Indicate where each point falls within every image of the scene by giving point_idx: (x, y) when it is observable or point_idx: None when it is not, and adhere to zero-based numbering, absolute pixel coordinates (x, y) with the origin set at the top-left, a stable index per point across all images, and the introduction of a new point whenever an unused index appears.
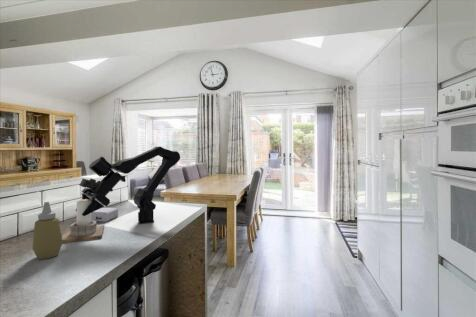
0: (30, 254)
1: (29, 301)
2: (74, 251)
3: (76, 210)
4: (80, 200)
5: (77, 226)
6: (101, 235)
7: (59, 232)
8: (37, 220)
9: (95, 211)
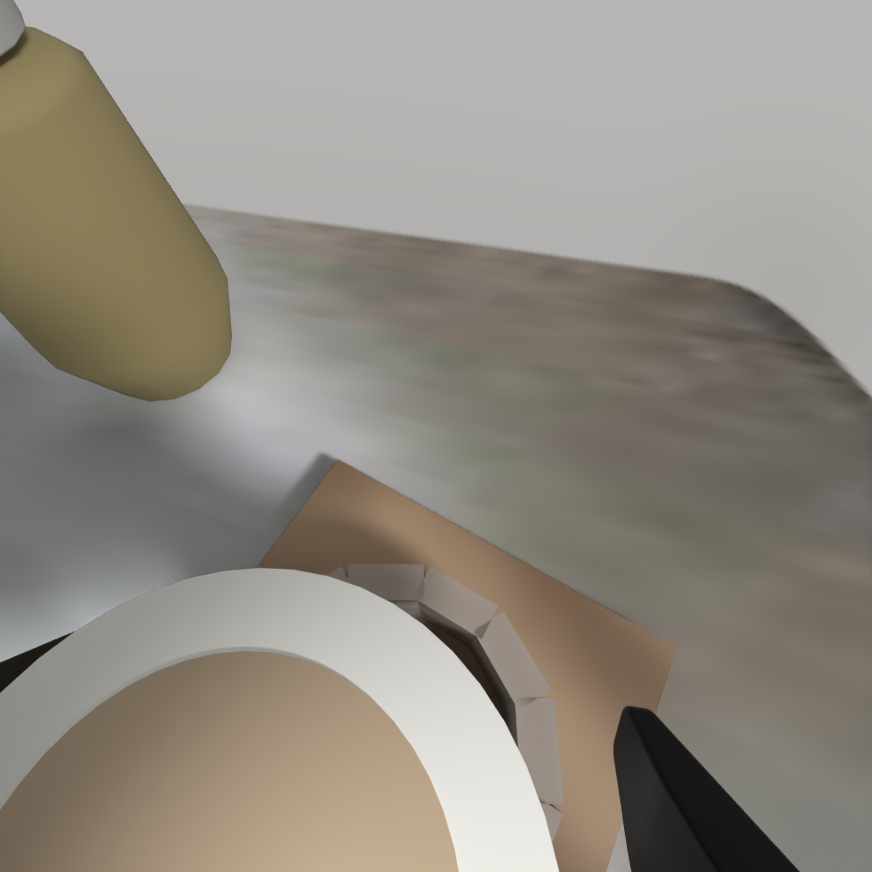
0: (301, 306)
1: None
2: (58, 478)
3: (623, 724)
4: (338, 773)
5: None
6: None
7: None
8: (27, 27)
9: None
